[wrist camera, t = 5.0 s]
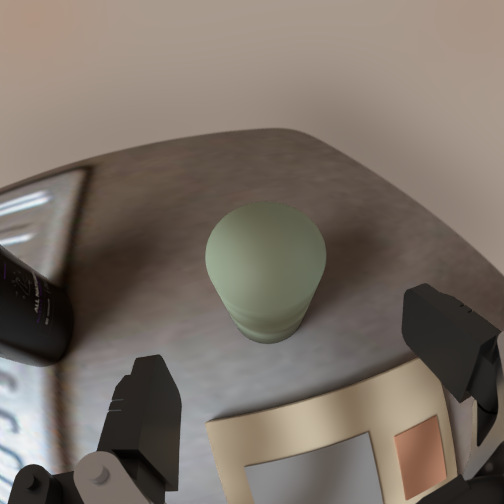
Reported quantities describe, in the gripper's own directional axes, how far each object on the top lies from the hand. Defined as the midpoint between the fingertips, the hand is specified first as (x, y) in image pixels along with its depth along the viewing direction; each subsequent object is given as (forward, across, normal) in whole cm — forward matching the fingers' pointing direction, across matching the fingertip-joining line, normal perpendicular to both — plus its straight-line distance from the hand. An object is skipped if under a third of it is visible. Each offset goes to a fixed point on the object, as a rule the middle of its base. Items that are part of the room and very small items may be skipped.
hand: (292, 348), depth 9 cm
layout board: (-4, -2, +16) cm, 17 cm away
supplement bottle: (+10, +17, +2) cm, 20 cm away
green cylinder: (+9, 0, +3) cm, 9 cm away
